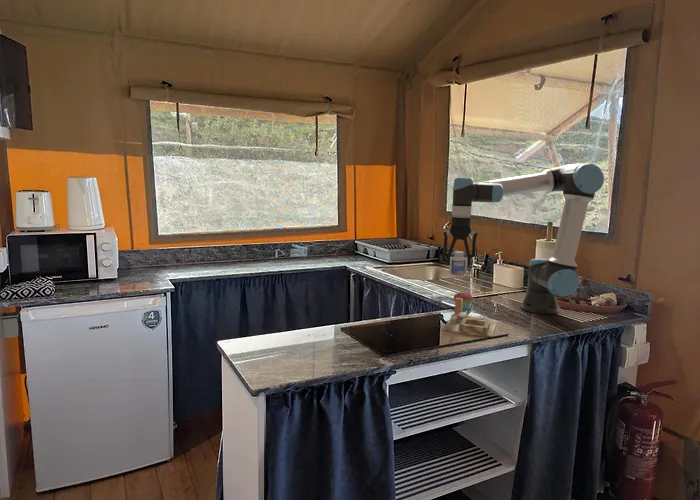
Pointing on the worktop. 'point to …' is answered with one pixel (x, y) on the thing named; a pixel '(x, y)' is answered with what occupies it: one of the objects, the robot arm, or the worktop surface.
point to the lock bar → (457, 310)
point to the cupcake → (464, 298)
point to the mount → (471, 326)
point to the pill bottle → (458, 264)
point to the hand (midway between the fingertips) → (457, 273)
